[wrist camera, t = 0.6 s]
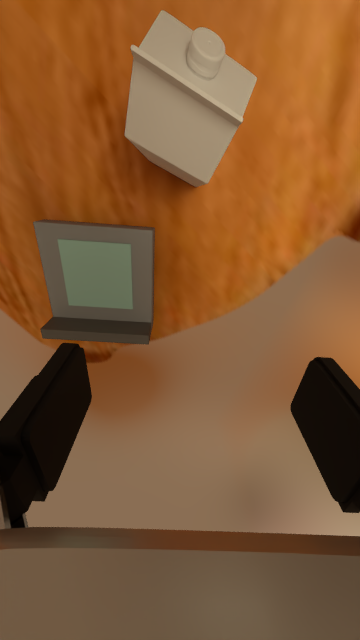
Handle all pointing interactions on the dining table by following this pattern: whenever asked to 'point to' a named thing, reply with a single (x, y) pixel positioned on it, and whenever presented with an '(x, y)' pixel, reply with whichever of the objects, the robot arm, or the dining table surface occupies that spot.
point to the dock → (98, 280)
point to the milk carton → (185, 99)
